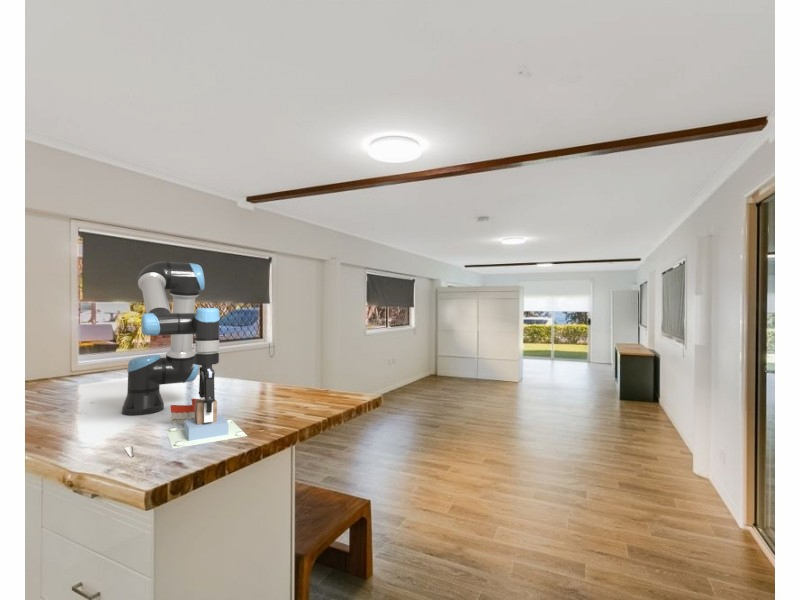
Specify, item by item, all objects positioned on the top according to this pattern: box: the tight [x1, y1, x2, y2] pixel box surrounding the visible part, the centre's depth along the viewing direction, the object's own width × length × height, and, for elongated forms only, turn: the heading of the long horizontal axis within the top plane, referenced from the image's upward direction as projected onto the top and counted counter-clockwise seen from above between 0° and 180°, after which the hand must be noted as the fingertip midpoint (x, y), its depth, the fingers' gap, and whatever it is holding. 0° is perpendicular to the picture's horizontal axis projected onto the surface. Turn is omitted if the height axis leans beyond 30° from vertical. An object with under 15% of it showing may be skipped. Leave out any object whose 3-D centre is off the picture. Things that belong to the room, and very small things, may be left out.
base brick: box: [183, 414, 229, 441], centre depth 139 cm, size 12×12×4 cm
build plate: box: [165, 419, 248, 449], centre depth 139 cm, size 22×22×2 cm
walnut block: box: [195, 399, 218, 425], centre depth 139 cm, size 6×6×7 cm
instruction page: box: [123, 445, 135, 458], centre depth 125 cm, size 10×7×1 cm
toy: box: [170, 398, 200, 425], centre depth 155 cm, size 12×10×8 cm
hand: (206, 418), depth 139 cm, fingers open, 8 cm apart
